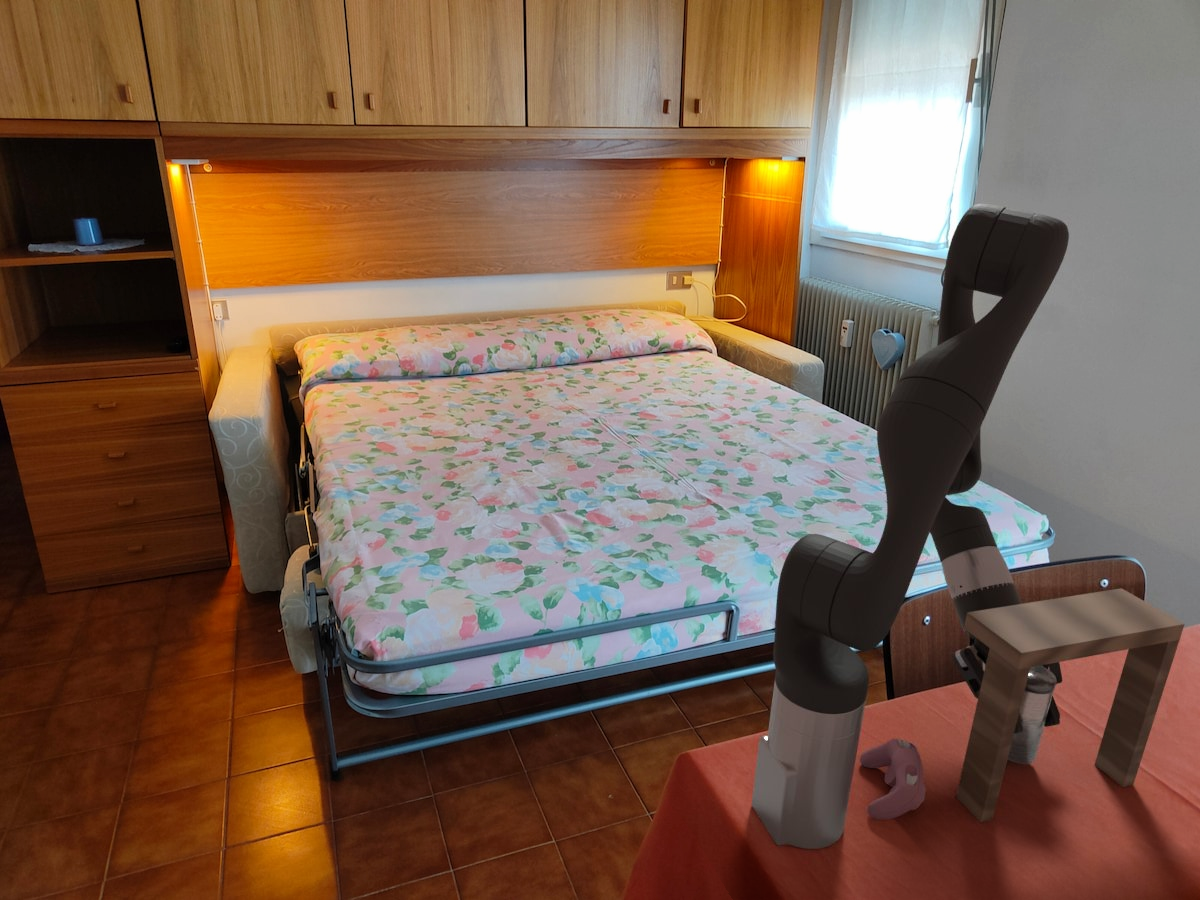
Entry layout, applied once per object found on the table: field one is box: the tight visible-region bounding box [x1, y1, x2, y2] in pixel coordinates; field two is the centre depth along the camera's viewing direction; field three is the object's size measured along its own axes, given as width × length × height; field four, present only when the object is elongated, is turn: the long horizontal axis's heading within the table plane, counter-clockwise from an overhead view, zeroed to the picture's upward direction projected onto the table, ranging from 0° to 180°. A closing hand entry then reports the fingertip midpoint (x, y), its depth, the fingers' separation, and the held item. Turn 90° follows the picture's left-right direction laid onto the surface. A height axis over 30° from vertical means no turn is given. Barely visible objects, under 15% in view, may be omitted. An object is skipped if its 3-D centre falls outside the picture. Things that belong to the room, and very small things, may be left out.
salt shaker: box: [1007, 666, 1057, 765], centre depth 98 cm, size 5×5×11 cm
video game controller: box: [859, 738, 927, 821], centre depth 94 cm, size 10×5×7 cm, turn 169°
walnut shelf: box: [955, 588, 1185, 823], centre depth 94 cm, size 22×8×22 cm, turn 107°
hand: (1033, 728), depth 97 cm, fingers closed on salt shaker, 4 cm apart
